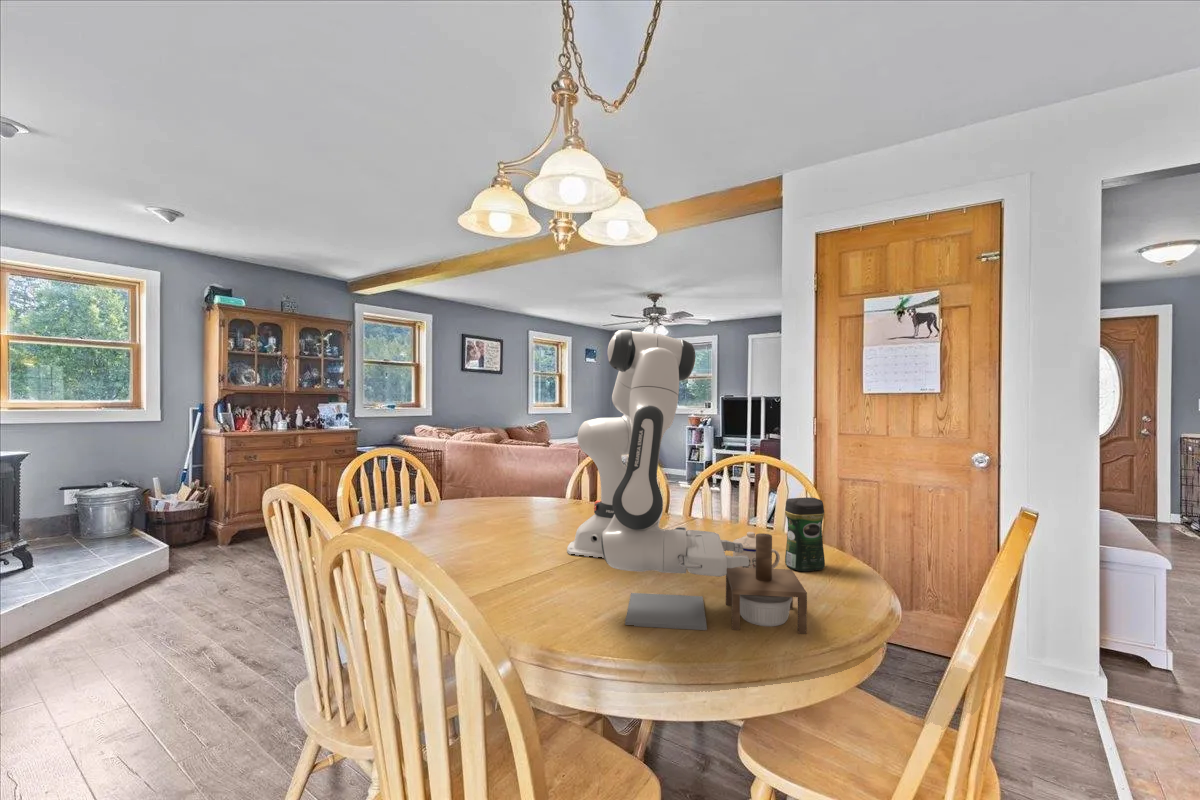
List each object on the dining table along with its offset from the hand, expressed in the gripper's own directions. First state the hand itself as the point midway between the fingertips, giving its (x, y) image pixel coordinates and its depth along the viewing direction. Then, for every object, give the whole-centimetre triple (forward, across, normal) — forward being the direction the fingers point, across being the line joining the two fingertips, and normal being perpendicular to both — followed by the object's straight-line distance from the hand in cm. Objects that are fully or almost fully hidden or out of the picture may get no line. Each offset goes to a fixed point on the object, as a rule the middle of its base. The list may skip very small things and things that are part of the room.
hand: (745, 554), depth 115 cm
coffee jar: (+20, +35, +13) cm, 42 cm away
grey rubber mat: (-16, 0, +13) cm, 21 cm away
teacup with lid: (+6, +24, +13) cm, 28 cm away
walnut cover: (+4, 0, +13) cm, 14 cm away
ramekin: (+4, 0, +13) cm, 14 cm away
